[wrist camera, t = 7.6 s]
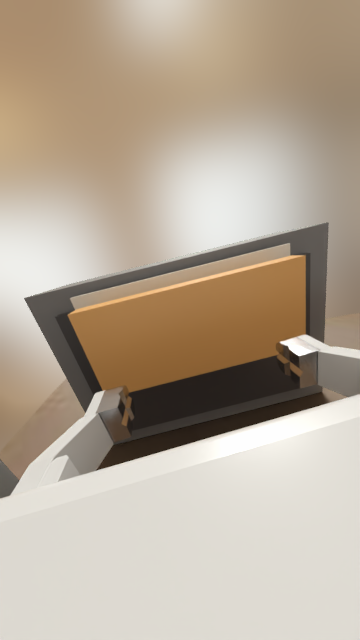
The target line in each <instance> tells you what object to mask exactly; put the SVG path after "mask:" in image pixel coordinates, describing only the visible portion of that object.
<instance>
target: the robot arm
mask: <svg viewBox="0 0 360 640" xmlns="http://www.w3.org/2000/svg"><path fill="white" fill-rule="evenodd" d="M276 351H277V352H279V354H278V356H277V364H278V366H279V368H280V370H281V371H282V372H283V373H284V374H285V375H289V376H291V380H292V381H293V382H294V383H295V384H296V385H297V386H298V387H299V388H304V387H308V386H312V385H316V384H318V385H319V386H322V387H324V388H327V389H329V390H332V391H334V392H337V393H339V394H342V395H344V396H347V397H348V398H345V399H341V400H338V401H334V402H331V403H327V404H324V405H321V406H317V407H314V408H310V409H307V410H303V411H300V412H296V413H293V414H290V415H286V416H283V417H279V418H276V419H272V420H269V421H265V422H262V423H259V424H255V425H252V426H248V427H245V428H241V429H238V430H234V431H231V432H227V433H224V434H221V435H217V436H214V437H210V438H207V439H203V440H200V441H196V442H193V443H190V444H186V445H183V446H179V447H176V448H172V449H169V450H166V451H162V452H159V453H155V454H152V455H149V456H145V457H142V458H138V459H135V460H131V461H128V462H125V463H121V464H118V465H114V466H111V467H107V468H104V469H100V470H97V468H98V467H99V465H100V464H101V462H102V461H103V459H104V458H105V456H106V455H107V453H108V452H109V450H110V449H111V447H112V446H113V444H114V442H117V441H120V440H124V439H127V438H130V437H131V435H132V429H133V423H132V420H133V418H134V416H135V407H134V403H133V400H132V398H131V397H129V396H128V394H129V390H128V388H127V386H125V385H123V386H119V387H116V388H112V389H108V390H104V391H100V392H97V393H95V395H94V397H93V399H92V401H91V403H90V405H89V407H88V409H87V411H86V414H85V416H84V417H83V418H80V419H79V420H78V421H77V422H76V423H75V424H74V425H73V426H71V427H70V428H69V429H68V430H67V431H66V432H65V433H64V434H63V435H62V436H60V437H59V438H58V439H57V440H56V441H55V442H54V443H53V444H52V445H51V446H49V447H48V448H47V449H46V450H45V451H44V452H43V453H42V454H41V455H40V456H38V457H37V458H36V459H35V460H34V461H33V462H32V463H31V464H30V465H29V466H28V468H27V469H26V471H25V473H24V474H23V476H22V477H21V479H20V481H19V482H18V484H17V485H16V487H15V489H14V490H13V492H12V493H11V495H10V496H7V497H4V498H0V640H360V350H355V349H348V348H342V347H335V346H334V347H330V346H328V345H326V344H324V343H322V342H320V341H318V340H316V339H314V338H312V337H310V336H308V335H304V334H303V335H300V336H297V337H295V338H291V339H288V340H285V341H281V342H278V343H276ZM96 470H97V471H96Z"/></svg>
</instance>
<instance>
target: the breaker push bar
mask: <svg viewBox="0 0 360 640" xmlns="http://www.w3.org/2000/svg"><path fill="white" fill-rule="evenodd" d="M68 317H69V319H70V322H71V324H72V326H73V328H74V330H75V332H76V334H77V337H78V339H79V341H80V343H81V345H82V347H83V349H84V352H85V354H86V356H87V358H88V360H89V362H90V364H91V367H92V369H93V371H94V373H95V375H96V377H97V379H98V382H99V384H100V386H101V388H102V390H103V391H104V390H108V389H112V388H116V387H119V386H123V385H125V386H127V388H128V390H129V392H133V391H137V390H141V389H145V388H149V387H153V386H157V385H161V384H165V383H169V382H173V381H177V380H181V379H185V378H189V377H192V376H196V375H200V374H204V373H208V372H212V371H216V370H220V369H224V368H228V367H232V366H236V365H240V364H244V363H248V362H252V361H256V360H259V359H263V358H267V357H271V356H275V355H278V354H279V352H277V351H276V343H278V342H281V341H285V340H288V339H291V338H295V337H297V336H300V335H303V334H304V335H306V255H291V256H287V257H283V258H279V259H275V260H271V261H267V262H263V263H259V264H255V265H251V266H247V267H243V268H239V269H235V270H231V271H227V272H223V273H219V274H215V275H211V276H207V277H203V278H199V279H195V280H191V281H187V282H183V283H179V284H175V285H171V286H167V287H163V288H159V289H155V290H151V291H147V292H143V293H139V294H135V295H131V296H127V297H123V298H120V299H116V300H112V301H108V302H104V303H100V304H96V305H92V306H88V307H84V308H80V309H76V310H75V311H73V312H72V313H70V314H68Z"/></svg>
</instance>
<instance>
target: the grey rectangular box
mask: <svg viewBox="0 0 360 640" xmlns="http://www.w3.org/2000/svg"><path fill="white" fill-rule="evenodd" d="M327 249H328V223H323V224H318V225H313V226H308V227H303V228H298V229H293V230H288V231H283V232H278V233H273V234H269V235H265V236H261V237H257V238H253V239H249V240H245V241H241V242H237V243H233V244H229V245H225V246H221V247H217V248H213V249H209V250H205V251H201V252H197V253H193V254H189V255H185V256H181V257H177V258H173V259H169V260H165V261H161V262H157V263H153V264H149V265H145V266H141V267H137V268H133V269H129V270H125V271H121V272H117V273H113V274H109V275H105V276H101V277H97V278H93V279H89V280H85V281H81V282H77V283H73V284H69V285H66V286H62V287H59V288H56V289H53V290H49V291H47V292H43V293H40V294H36V295H33V296H30V297H27V298H24V299H25V301H26V303H27V305H28V307H29V308H30V310H31V312H32V314H33V316H34V318H35V320H36V322H37V323H38V325H39V327H40V329H41V331H42V333H43V335H44V336H45V338H46V340H47V342H48V344H49V346H50V348H51V350H52V351H53V353H54V355H55V357H56V359H57V361H58V363H59V365H60V366H61V368H62V370H63V372H64V374H65V376H66V378H67V380H68V381H69V383H70V385H71V387H72V389H73V391H74V393H75V394H76V396H77V398H78V400H79V402H80V404H81V406H82V408H83V409H84V411H85V413H86V411H87V409H88V407H89V405H90V403H91V401H92V399H93V397H94V395H95V393H97V392H100V391H103V390H102V388H101V386H100V384H99V382H98V379H97V377H96V375H95V373H94V371H93V369H92V367H91V364H90V362H89V360H88V358H87V356H86V354H85V352H84V349H83V347H82V345H81V343H80V341H79V339H78V337H77V334H76V332H75V330H74V328H73V326H72V324H71V322H70V319H69V317H68V314H70V313H72V312H73V311H75V310H76V309H80V308H84V307H88V306H92V305H96V304H100V303H104V302H108V301H112V300H116V299H120V298H123V297H127V296H131V295H135V294H139V293H143V292H147V291H151V290H155V289H159V288H163V287H167V286H171V285H175V284H179V283H183V282H187V281H191V280H195V279H199V278H203V277H207V276H211V275H215V274H219V273H223V272H227V271H231V270H235V269H239V268H243V267H247V266H251V265H255V264H259V263H263V262H267V261H271V260H275V259H279V258H283V257H287V256H291V255H306V335H308V336H310V337H312V338H314V339H316V340H318V341H320V342H322V343H324V330H325V302H326V276H327V274H326V273H327ZM277 356H278V355H275V356H271V357H267V358H263V359H259V360H256V361H252V362H248V363H244V364H240V365H236V366H232V367H228V368H224V369H220V370H216V371H212V372H208V373H204V374H200V375H196V376H192V377H189V378H185V379H181V380H177V381H173V382H169V383H165V384H161V385H157V386H153V387H149V388H145V389H141V390H137V391H133V392H129V394H128V396H129V397H131V398H132V400H133V403H134V407H135V416H134V418H133V420H132V423H133V429H132V435H131V437H130V438H127V439H124V440H120V441H117V442H114V444H113V445H116V444H120V443H124V442H128V441H131V440H135V439H139V438H143V437H147V436H151V435H155V434H159V433H163V432H167V431H171V430H175V429H178V428H182V427H186V426H190V425H194V424H198V423H202V422H206V421H210V420H214V419H218V418H221V417H225V416H229V415H233V414H237V413H241V412H245V411H249V410H253V409H257V408H261V407H265V406H268V405H272V404H276V403H280V402H284V401H288V400H292V399H296V398H300V397H304V396H308V395H312V394H315V393H319V392H322V386H319V385H318V384H316V385H312V386H308V387H304V388H299V387H298V386H297V385H296V384H295V383H294V382H293V381H292V380H291V376H289V375H285V374H284V373H283V372H282V371H281V370H280V368H279V366H278V364H277Z"/></svg>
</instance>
